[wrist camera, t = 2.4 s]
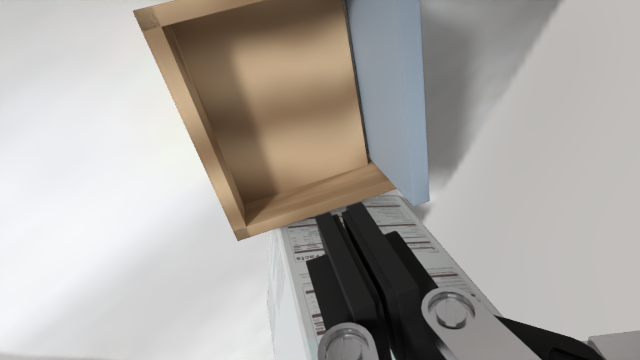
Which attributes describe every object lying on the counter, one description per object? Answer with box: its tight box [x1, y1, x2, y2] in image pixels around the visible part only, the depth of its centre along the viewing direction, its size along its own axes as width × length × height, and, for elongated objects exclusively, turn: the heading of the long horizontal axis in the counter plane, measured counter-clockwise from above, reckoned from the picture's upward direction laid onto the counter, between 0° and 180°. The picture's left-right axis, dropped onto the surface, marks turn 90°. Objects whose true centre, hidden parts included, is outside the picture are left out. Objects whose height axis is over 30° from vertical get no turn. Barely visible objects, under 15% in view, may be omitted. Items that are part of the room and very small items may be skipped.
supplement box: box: [267, 196, 504, 360], centre depth 27 cm, size 13×13×18 cm
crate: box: [133, 0, 397, 241], centre depth 24 cm, size 16×14×5 cm
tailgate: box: [345, 0, 430, 206], centre depth 22 cm, size 13×2×8 cm, turn 12°
